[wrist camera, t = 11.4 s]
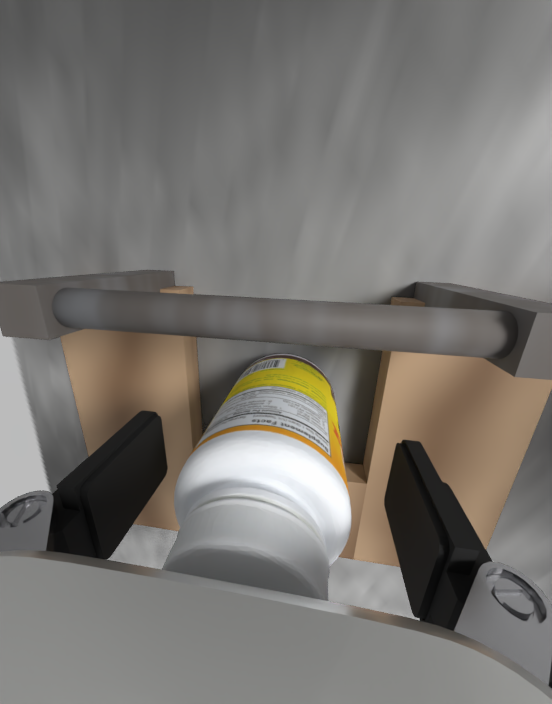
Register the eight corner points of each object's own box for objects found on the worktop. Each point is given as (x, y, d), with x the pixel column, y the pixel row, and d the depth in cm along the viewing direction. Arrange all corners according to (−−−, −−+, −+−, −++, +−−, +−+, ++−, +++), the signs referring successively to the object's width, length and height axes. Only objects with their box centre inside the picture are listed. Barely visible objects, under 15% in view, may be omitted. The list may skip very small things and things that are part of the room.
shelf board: (559, 288, 12) (892, 332, 5) (461, 553, 18) (557, 748, 11) (69, 266, 15) (-149, 275, 8) (117, 501, 21) (15, 628, 14)
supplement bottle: (304, 451, 17) (289, 707, 7) (223, 409, 17) (98, 616, 7) (354, 379, 15) (424, 600, 5) (263, 331, 15) (166, 470, 5)
